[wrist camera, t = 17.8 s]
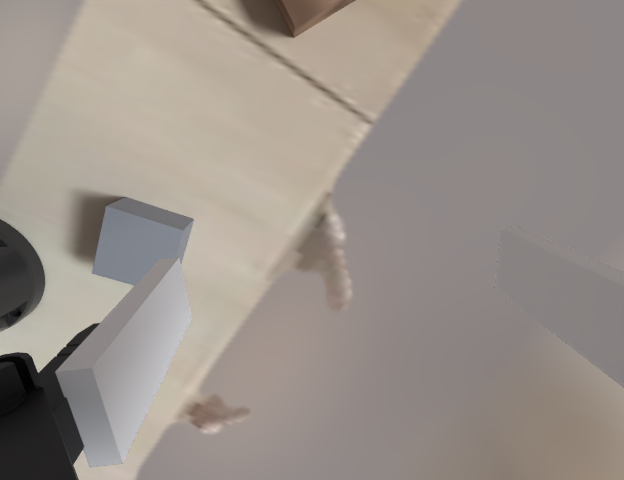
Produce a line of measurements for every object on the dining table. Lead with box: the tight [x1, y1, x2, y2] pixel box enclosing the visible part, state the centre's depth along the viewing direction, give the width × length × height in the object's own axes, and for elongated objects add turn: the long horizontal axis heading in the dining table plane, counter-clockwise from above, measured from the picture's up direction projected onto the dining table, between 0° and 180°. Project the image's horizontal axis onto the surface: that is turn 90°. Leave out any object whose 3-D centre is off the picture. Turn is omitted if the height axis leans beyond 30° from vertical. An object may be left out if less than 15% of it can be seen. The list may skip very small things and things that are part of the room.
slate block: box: [92, 197, 194, 285], centre depth 40 cm, size 8×8×5 cm
